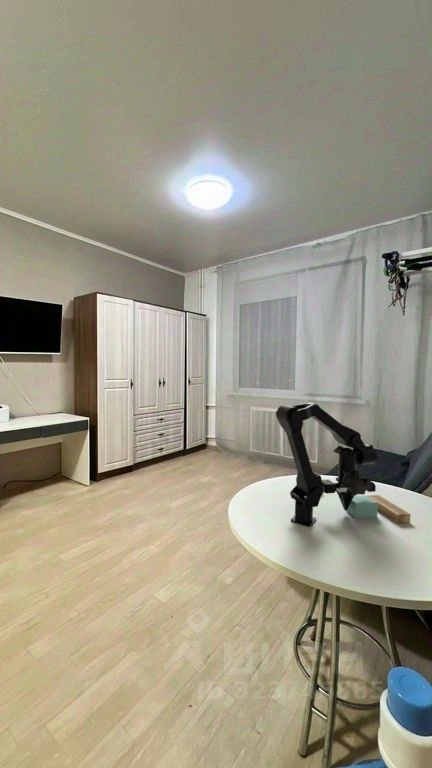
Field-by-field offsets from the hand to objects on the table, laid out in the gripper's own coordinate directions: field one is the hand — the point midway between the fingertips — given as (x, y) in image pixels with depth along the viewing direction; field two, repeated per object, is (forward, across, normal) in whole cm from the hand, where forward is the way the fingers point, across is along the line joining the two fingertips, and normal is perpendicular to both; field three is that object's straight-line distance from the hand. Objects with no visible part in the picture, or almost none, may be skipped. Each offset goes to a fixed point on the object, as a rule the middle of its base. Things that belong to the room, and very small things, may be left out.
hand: (345, 509), depth 111 cm
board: (+2, +16, 0) cm, 16 cm away
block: (+2, +6, 0) cm, 6 cm away
